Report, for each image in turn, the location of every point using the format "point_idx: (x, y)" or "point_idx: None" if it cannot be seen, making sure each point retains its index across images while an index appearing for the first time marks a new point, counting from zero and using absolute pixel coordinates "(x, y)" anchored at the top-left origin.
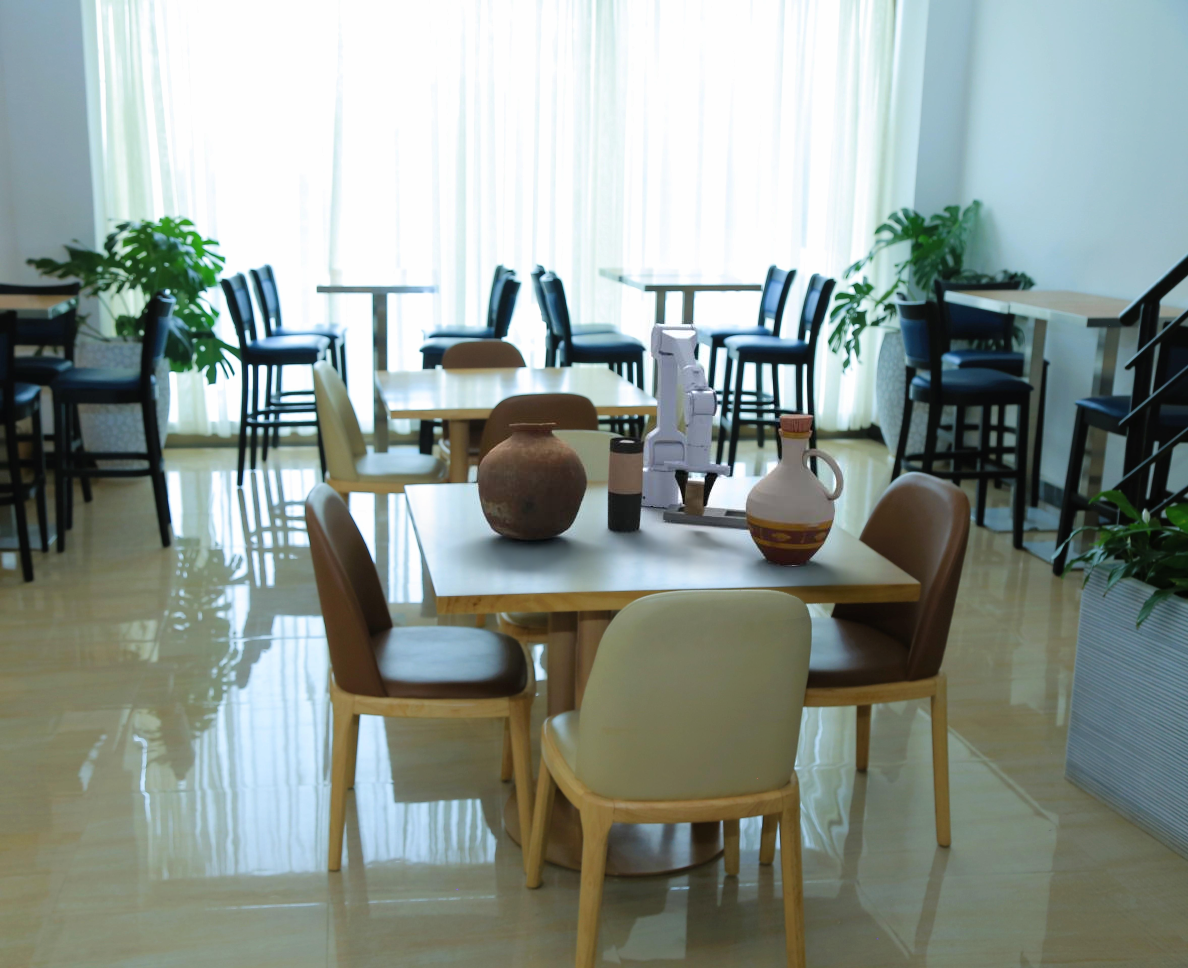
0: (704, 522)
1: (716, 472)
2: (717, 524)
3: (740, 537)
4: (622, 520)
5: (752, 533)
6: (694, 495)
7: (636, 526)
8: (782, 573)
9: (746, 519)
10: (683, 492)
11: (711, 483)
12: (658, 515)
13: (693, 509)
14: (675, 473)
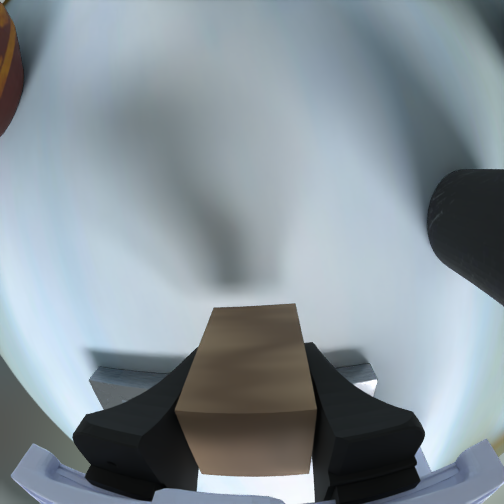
0: None
1: (94, 488)
2: None
3: (97, 264)
4: (483, 169)
5: (7, 14)
6: (246, 362)
7: (439, 198)
8: (16, 25)
9: (117, 384)
10: (321, 372)
11: (113, 410)
12: None
13: (252, 319)
14: (414, 459)
